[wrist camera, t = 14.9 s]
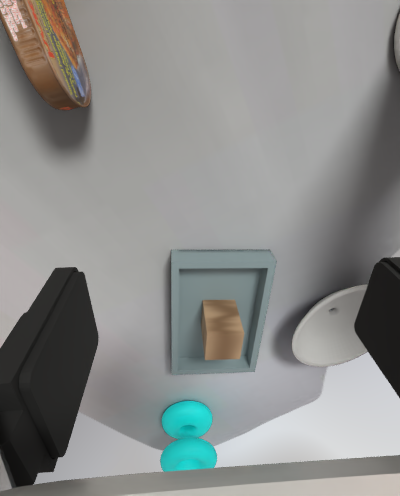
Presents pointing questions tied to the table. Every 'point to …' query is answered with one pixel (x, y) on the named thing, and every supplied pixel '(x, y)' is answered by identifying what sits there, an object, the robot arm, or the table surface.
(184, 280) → the tray
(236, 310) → the block
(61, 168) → the table surface
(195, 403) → the donuts
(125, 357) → the table surface
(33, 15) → the tin
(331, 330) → the dish
